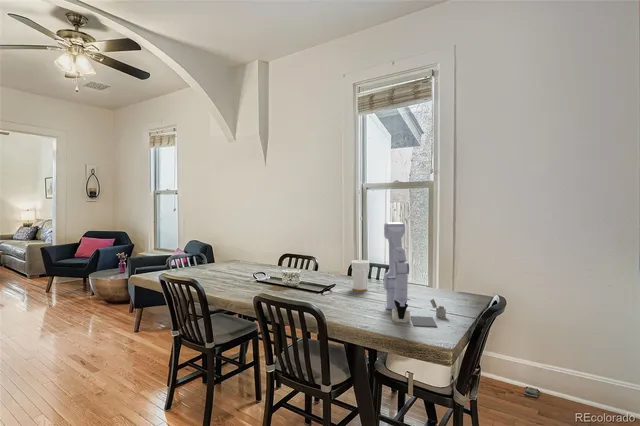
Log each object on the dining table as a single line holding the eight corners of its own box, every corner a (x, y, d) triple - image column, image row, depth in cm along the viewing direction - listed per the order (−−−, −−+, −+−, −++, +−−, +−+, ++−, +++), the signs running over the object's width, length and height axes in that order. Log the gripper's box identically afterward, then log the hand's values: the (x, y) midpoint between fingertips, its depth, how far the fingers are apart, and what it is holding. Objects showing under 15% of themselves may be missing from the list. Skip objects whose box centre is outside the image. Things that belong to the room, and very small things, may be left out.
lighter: (445, 317, 164) (446, 300, 164) (444, 318, 163) (445, 301, 162) (430, 314, 168) (431, 298, 168) (429, 315, 167) (429, 299, 166)
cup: (373, 289, 215) (373, 261, 214) (359, 292, 208) (359, 263, 208) (361, 286, 224) (361, 259, 224) (347, 288, 218) (347, 261, 217)
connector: (391, 319, 161) (391, 305, 161) (409, 320, 160) (409, 306, 160) (392, 321, 158) (392, 307, 158) (410, 322, 157) (410, 308, 157)
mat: (410, 317, 164) (410, 316, 164) (432, 318, 163) (432, 317, 163) (413, 326, 152) (413, 325, 152) (437, 327, 151) (437, 326, 151)
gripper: (411, 292, 151) (411, 323, 151) (408, 284, 165) (408, 312, 166) (395, 291, 152) (395, 322, 152) (393, 284, 166) (393, 312, 167)
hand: (400, 317), depth 159 cm, fingers closed on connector, 3 cm apart
